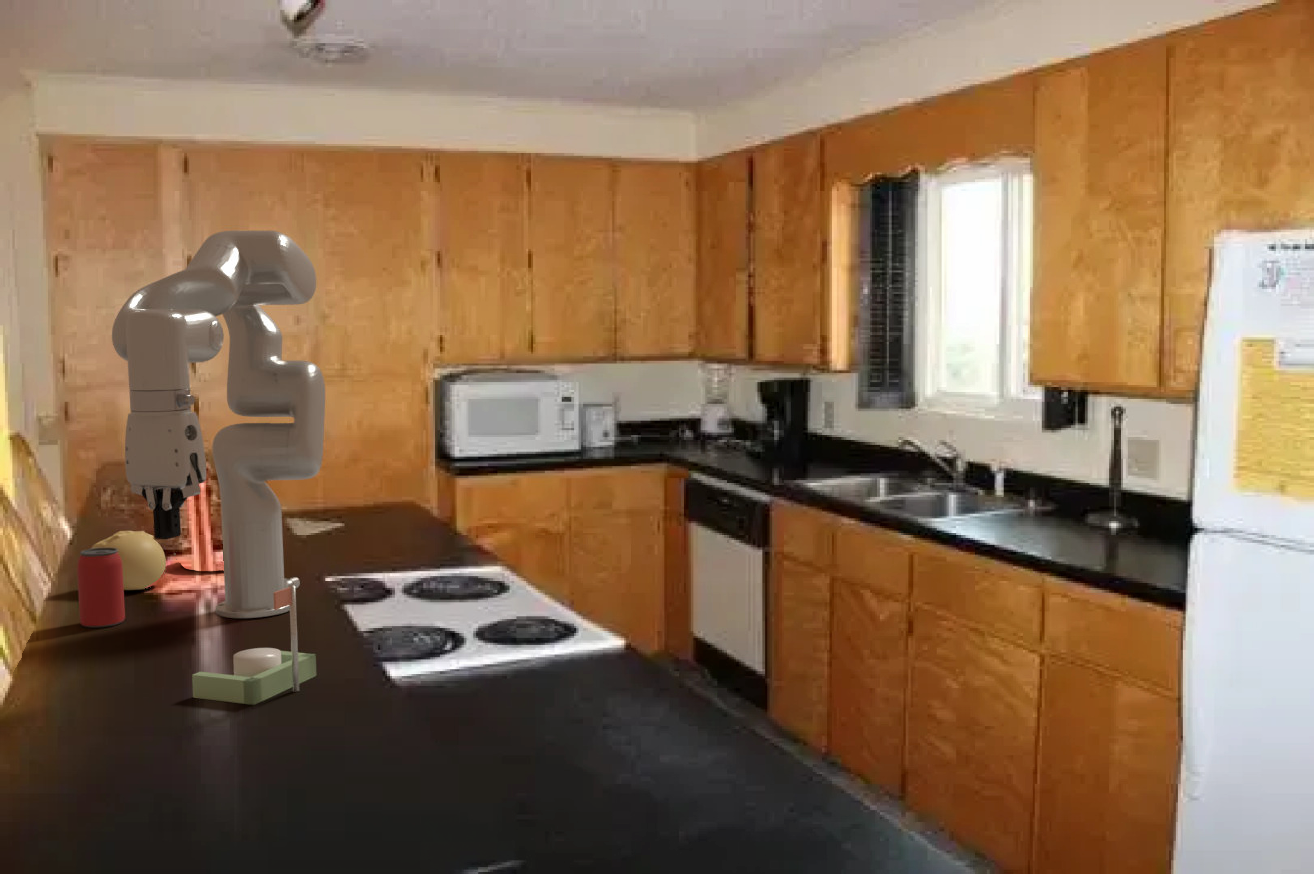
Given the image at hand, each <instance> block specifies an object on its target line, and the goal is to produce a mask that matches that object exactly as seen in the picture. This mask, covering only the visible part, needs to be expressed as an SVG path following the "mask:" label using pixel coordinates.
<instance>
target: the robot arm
mask: <svg viewBox="0 0 1314 874" xmlns="http://www.w3.org/2000/svg"><path fill="white" fill-rule="evenodd" d="M316 289H317V274H316V271H315V268H314V265H313V263H312V261H311V259H310V258H309V256H308V255H307V254H306V253H305V251H303V249H302V248H301V247H300V246H299V244H297V243H296V242H295V241H294V240H293V239H292V238H291V237H290V236H288V235H287V234H285V233H283V232H280V231H277V230H276V231H275V230H224V231H218V232H216V233H213V234H212V235H210V236H209V237H207V238H206V239H205V240H204V242H203V243H202V244H201V246H200V247H199V249H198V250H197V251H196V253H195V255H194V256H193V257H192V259H191V260H190V262H189V263H188V264H187V266H186V267H185V269H183V270H181V271H177V272H175V273H172V274H170V275H168V276H165V277H163V278H161V279H158V280H156V281H153V282H151V283H149V284H147V285H144V286H143V287H141V288H139V289H137V290H136V291H135V292H133V293H132V294H131V295H130V296H129V297H128V298H127V300H126V301H125V302H124V304H123V305H122V306H121V308H120V310H119V311H118V313H117V315H116V318H115V319H114V321H113V325H112V330H111V340H112V341H111V342H112V345H113V348H114V350H115V351H116V353H117V355H118V356H119V357H120V358H122V360H125V361H126V362H127V371H128V372H127V374H128V387H129V388H128V390H129V409H130V413H128V414H127V420H126V427H125V435H124V436H125V438H124V439H125V441H124V467H125V477H126V480H127V482H128V483H130V491H131V492H132V493H133V494H136V495H139V496H142V497H143V499H145V501H147V506H148V508H149V510H152V515H153V530H154V531H153V532H154V533H153V536H154V540H155V539H156V540H161V539H162V540H165V541H166V540H169V539H174V538H176V537H177V538H178V537H181V533H182V531H181V530H182V529H181V512H180V511H181V510H180V508H182V507H183V506H184V505H185V501H186V500H188V498H190V497H195V496H199V495H201V493H202V492H201V491H202V490H201V487H200V484H203V483H204V482H206V480H207V465H206V463H207V462H206V455H205V454H206V453H205V444H204V439H203V435H202V434H203V433H202V430H201V429H202V428H201V425H200V422H199V417H198V414H197V412H193V411H192V406H193V405H194V404H195V403H196V398H195V396H194V395H193V394H191V388H190V387H191V386H190V384H191V383H190V367H189V366H190V365H189V364H191V363H193V364H194V363H195V364H196V363H205V362H208V361H210V360H212V359H214V358H215V357H216V356H217V355H218V354H219V352H220V351H221V350H222V347H223V344H224V339H225V338H224V335H225V333H224V330H223V326H222V324H221V321H220V320H219V319H218V318H217V317H218V316H220V315H222V316H223V318H224V322H225V323H226V326H227V331H228V335H229V349H228V350H229V351H228V363H227V364H228V366H227V377H226V378H227V381H226V401H227V406H228V408H229V410H231V412H232V413H233V414H235V415H237V416H241V417H247V418H249V417H251V418H262V417H263V418H282V417H283V418H287V417H288V418H293V422H281V423H280V422H274V423H273V422H272V423H271V422H245V423H244V422H243V423H234V424H230V425H227V426H224V427H222V428H221V429H220V430H219V431H218V432H217V433H215V435H214V438H213V441H212V446H211V449H212V458H213V462H214V467H215V471H216V472H215V473H216V476H217V482H218V488H219V496H220V497H219V498H220V509H221V513H220V514H221V532H222V533H221V534H222V544H223V561H224V571H223V578H224V580H223V581H224V601H221V602H219V603H218V604H217V605H216V606H215V614H216V615H218V616H220V617H223V618H227V619H229V618H231V619H253V618H255V619H256V618H265V617H270V616H271V617H272V616H276V615H281V614H284V613H287V612H290V605H288V606H285V607H282V608H279V609H277V610H274V594H273V592H276V591H279V590H282V589H285V588H288V587H289V586H290V585H295V589H298V588H299V587H300V586H301V585H300V584H301V582H300V579H299V578H298V577H296V576H294V577H290V578H286V577H285V568H284V567H285V565H284V545H283V544H284V543H283V541H284V540H283V518H282V517H283V515H282V513H283V512H282V506H281V505H282V504H281V502H280V500H279V498H278V497H277V495H276V494H275V492H274V491H273V489H272V488H271V487H270V486H269V484H268V483H267V481H293V480H295V481H296V480H308V479H312V478H314V477H315V476H317V475H318V474H319V472H320V470H321V467H322V465H323V464H322V462H323V456H324V453H323V452H324V438H325V437H324V435H325V416H326V414H325V413H326V386H325V385H326V384H325V379H324V375H323V373H322V370H321V369H320V368H319V367H318V365H317V364H315V363H314V362H311V361H307V360H282V356H283V333H282V332H281V330H280V328H279V327H278V325H277V323H276V322H275V321H274V319H273V318H272V317H271V316H270V315H269V314H268V313H267V312H265V310H264V309H263V308H262V307H261V306H281V305H282V306H285V305H287V306H288V305H289V306H294V305H304V304H306V303H308V302H309V301H310V300H311V299H312V298H313V297H314V295H315V292H316Z"/></svg>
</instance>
